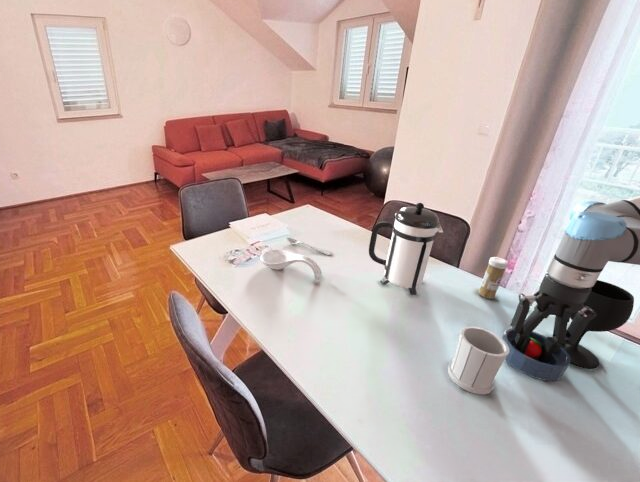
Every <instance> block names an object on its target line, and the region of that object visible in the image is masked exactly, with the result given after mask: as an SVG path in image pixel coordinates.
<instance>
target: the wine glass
mask: <svg viewBox="0 0 640 482" xmlns="http://www.w3.org/2000/svg"><path fill="white" fill-rule="evenodd" d="M591 288H592V290H591V292H590V294H589V296H588V298H587V300H586V301H585V302H584V303H583V304H584V306H589V307H591V309H592V310H593V311H594V312H595V313H596V314H597V316H596V317H595V318H593V319H592V320H591V321H589V323H588V324H587V326H586V328H585V329H584V331H583V332H582V334H581V336H580V337H579V339H578V340H577V342H576V344H575V345H569V344H565V346H566V347H564V348H563V349H564V350H565V351H566V352H567V354H568V355H569V357H570V364H569V365H571V366H573V367H576V368H580V369H585V370H595V369H598V368H599V367H600V364H601V363H600V360H599V358H598V357H597V355H595V354H594V353H593V352H592V351H591V350H589V349H588V348H587V347H585V346H583V345H581V344H580V342H581V341H582V339H583V337H584V336H585V335H586V334H587V333H588V332H595V333H599V332H600V333H601V332H610V331H613V330H616V329H619V328H621V327H623V325H625V324H626V323H627V322H628V321H629V319H630V317H631V316H632V314H633V311H634V305H635V297H634V295H633V294H632V293H631V292H629V291H628V290H626V289H624V288H622V287H621V286H619V285H616V284H614V283H611V282H607V281H603V280H600V279H597V281H596V282H595V284H594V286H593V287H591ZM577 312H578V311H577ZM577 312H575V313H573V314H571V315H570V320H571V321H572V320H573V318H574V317H575V315H576V313H577ZM551 337H552V339H553V336H551Z"/></svg>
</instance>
